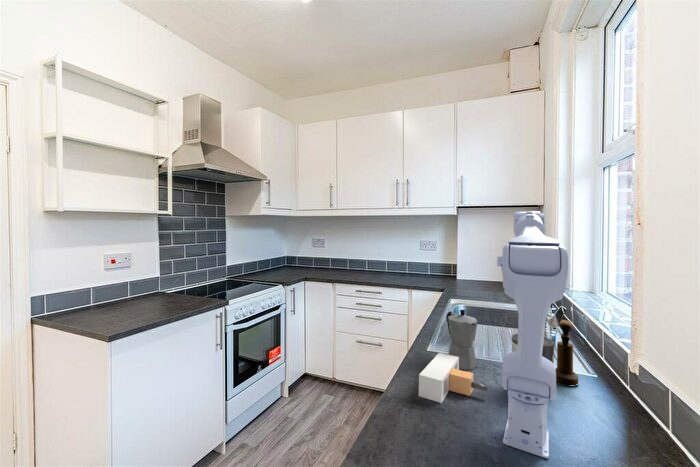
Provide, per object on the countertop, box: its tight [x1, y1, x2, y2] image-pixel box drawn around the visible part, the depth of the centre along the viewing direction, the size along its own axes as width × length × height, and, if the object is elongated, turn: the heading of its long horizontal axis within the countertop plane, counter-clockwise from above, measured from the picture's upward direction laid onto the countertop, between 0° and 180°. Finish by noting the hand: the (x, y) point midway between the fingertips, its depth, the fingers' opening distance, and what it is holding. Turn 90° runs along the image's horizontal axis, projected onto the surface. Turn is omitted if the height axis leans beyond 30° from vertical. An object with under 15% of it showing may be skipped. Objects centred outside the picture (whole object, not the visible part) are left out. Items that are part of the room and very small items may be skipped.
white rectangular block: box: [418, 352, 460, 404], centre depth 89 cm, size 18×6×6 cm, turn 148°
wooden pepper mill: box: [555, 319, 579, 386], centre depth 92 cm, size 7×6×18 cm
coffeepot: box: [445, 309, 479, 371], centre depth 104 cm, size 15×9×18 cm, turn 15°
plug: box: [449, 368, 489, 397], centre depth 85 cm, size 4×13×4 cm, turn 57°
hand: (525, 280), depth 91 cm, fingers open, 7 cm apart
